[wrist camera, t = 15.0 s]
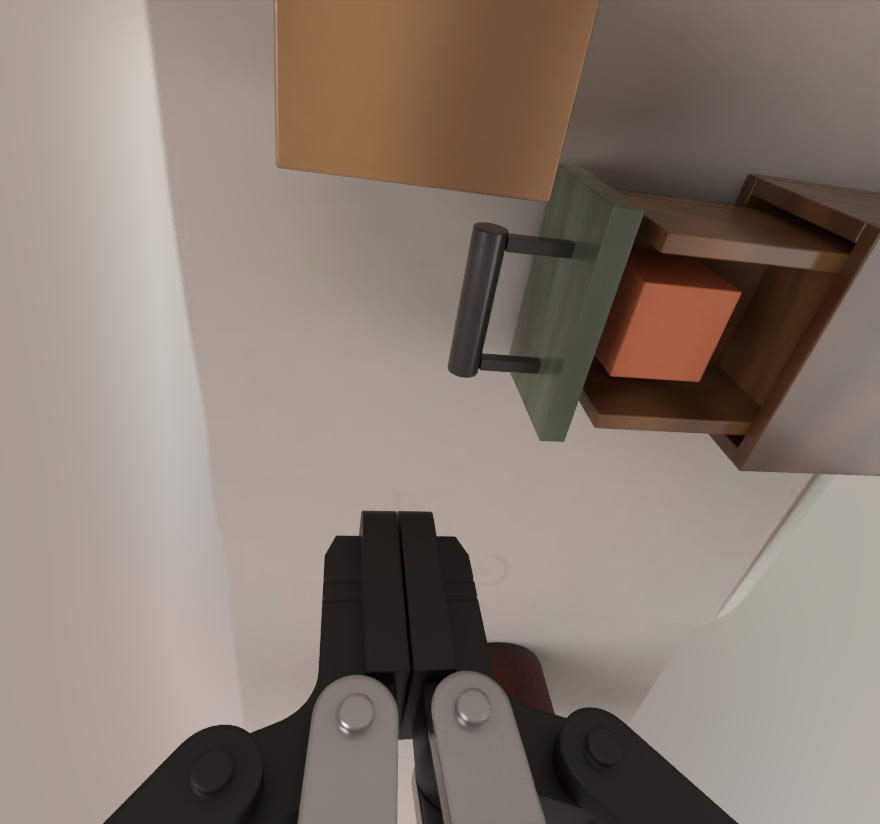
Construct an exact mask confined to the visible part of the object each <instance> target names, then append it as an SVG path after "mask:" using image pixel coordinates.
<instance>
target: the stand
mask: <svg viewBox="0 0 880 824" xmlns="http://www.w3.org/2000/svg"><path fill="white" fill-rule="evenodd" d="M599 3H600V0H274V60H275V134H276V165H277V167H279V168H283V169H291V170H299V171H307V172H314V173H322V174H330V175H338V176H345V177H353V178H361V179H369V180H377V181H384V182H392V183H400V184H408V185H415V186H423V187H431V188H439V189H447V190H454V191H462V192H470V193H478V194H486V195H493V196H501V197H509V198H517V199H524V200H532V201H540V202H549V200H550V197H551V193H552V189H553V185H554V181H555V177H556V173H557V169H558V165H559V161H560V157H561V153H562V149H563V145H564V141H565V137H566V133H567V129H568V125H569V121H570V117H571V114H572V110H573V106H574V102H575V98H576V94H577V90H578V86H579V82H580V78H581V74H582V70H583V66H584V62H585V58H586V54H587V50H588V46H589V42H590V38H591V34H592V30H593V26H594V23H595V19H596V15H597V11H598V7H599Z"/></svg>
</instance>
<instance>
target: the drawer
mask: <svg viewBox="0 0 880 824" xmlns="http://www.w3.org/2000/svg"><path fill="white" fill-rule="evenodd" d="M855 244H856V243H854V242H852V241H849V240H847V239H845V238H843V237H841V236H839V235H837V234H834V233H832V232H830V231H828V230H826V229H824V228H821V227H819V226H817V225H815V224H813V223H811V222H809V221H806V220H804V219H802V218H800V217H798V216H796V215H793V214H790V213H782V212H775V211H768V210H760V209H753V208H746V207H738V206H731V205H724V204H716V203H709V202H702V201H694V200H687V199H680V198H672V197H665V196H658V195H650V194H643V193H636V192H628V191H621V190H614V189H613V188H611V187H610V186H609V185H607V184H606V183H604V182H603V181H601V180H600V179H598V178H597V177H595V176H594V175H593V174H591V173H590V172H588V171H587V170H585V169H584V168H582V167H580V166H573V165H566V164H559V165H558V169H557V173H556V177H555V181H554V185H553V189H552V193H551V197H550V200H549V202H548V203H547V207H546V211H545V215H544V218H543V222H542V226H541V230H540V234H539V237H536V236H527V235H519V234H510V233H508V230H507V229H506V228H504V227H502V226H500V225H496V224H492V223H476V224H474V226H473V231H472V236H471V242H470V247H469V253H468V258H467V264H466V269H465V275H464V280H463V286H462V291H461V296H460V302H459V307H458V313H457V318H456V324H455V329H454V335H453V340H452V346H451V351H450V356H449V362H448V370H449V371H450V372H451V373H452V374H454V375H456V376H459V377H464V378H469V377H474V376H475V375H476V374H477V373H478V369H480V370H486V371H501V372H510V373H511V375H512V377H513V380H514V382H515V384H516V387H517V389H518V391H519V394H520V396H521V398H522V400H523V403H524V405H525V407H526V410H527V412H528V414H529V417H530V419H531V421H532V424H533V426H534V428H535V430H536V433H537V435H538V437H539V440H540V441H558V442H564V441H565V438H566V435H567V432H568V429H569V426H570V423H571V420H572V418H573V415H574V412H575V409H576V406H577V403H578V400H579V402H580V403H581V405H582V407H583V408H584V410H585V412H586V414H587V415H588V417H589V419H590V421H591V422H592V424H593V426H594V427H595V428H606V429H626V430H647V431H667V432H687V433H707V434H728V435H746V434H747V432H748V430H749V428H750V427H751V425H752V423H753V421H754V420H755V418H756V416H757V415H758V413H759V411H760V409H761V408H762V406H763V404H764V402H765V401H766V399H767V397H768V395H769V394H770V392H771V390H772V388H773V387H774V385H775V383H776V382H777V380H778V378H779V376H780V375H781V373H782V371H783V369H784V368H785V366H786V364H787V362H788V361H789V359H790V357H791V355H792V354H793V352H794V350H795V349H796V347H797V345H798V343H799V342H800V340H801V338H802V336H803V335H804V333H805V331H806V329H807V328H808V326H809V324H810V322H811V321H812V319H813V317H814V315H815V314H816V312H817V310H818V309H819V307H820V305H821V303H822V302H823V300H824V298H825V296H826V295H827V293H828V291H829V289H830V288H831V286H832V284H833V282H834V281H835V279H836V277H837V276H838V274H839V272H840V270H841V269H842V267H843V265H844V263H845V262H846V260H847V258H848V256H849V255H850V253H851V251H852V249H853V248H854V246H855ZM632 248H635V249H644V250H653V251H660V252H661V253H666V254H675V255H684V256H692V257H694V258H696V259H697V260H698V261H700V262H701V263H703V264H704V265H705V266H707V267H708V268H709V269H711V270H712V271H714V272H715V273H716V274H718V275H719V276H721V277H722V278H723V279H725V280H726V281H727V282H729V283H730V284H732V285H733V286H734V287H736V288H737V289H738V290H740V291H741V292H742V294H741V296H740V298H739V300H738V302H737V304H736V306H735V309H734V311H733V313H732V315H731V317H730V319H729V321H728V323H727V325H726V327H725V329H724V331H723V333H722V336H721V338H720V340H719V342H718V344H717V346H716V348H715V350H714V352H713V354H712V356H711V358H710V361H709V363H708V365H707V367H706V369H705V371H704V373H703V375H702V377H701V379H700V381H699V382H692V381H677V380H661V379H646V378H631V377H615V376H610V375H609V373H608V372H607V371H606V369H605V368H604V366H603V365H602V363H601V362H600V361H599V359H598V358H597V356H596V355H595V352H596V349H597V346H598V343H599V340H600V337H601V335H602V332H603V329H604V326H605V323H606V320H607V317H608V314H609V312H610V309H611V306H612V303H613V300H614V297H615V294H616V292H617V289H618V286H619V283H620V280H621V277H622V274H623V272H624V269H625V266H626V263H627V260H628V257H629V254H630V251H631V249H632ZM505 250H506V251H507V252H513V253H523V254H532V255H534V258H533V262H532V266H531V270H530V274H529V278H528V282H527V286H526V290H525V294H524V298H523V302H522V306H521V310H520V314H519V318H518V322H517V326H516V330H515V334H514V338H513V342H512V346H511V350H510V354H509V355H497V354H483V353H482V351H483V346H484V342H485V337H486V333H487V328H488V324H489V319H490V315H491V310H492V306H493V301H494V296H495V292H496V287H497V283H498V278H499V274H500V269H501V265H502V260H503V255H504V251H505Z"/></svg>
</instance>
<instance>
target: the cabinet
mask: <svg viewBox="0 0 880 824" xmlns="http://www.w3.org/2000/svg"><path fill="white" fill-rule="evenodd" d="M735 206H738V207H746V208H753V209H760V210H768V211H775V212H782V213H790V214H793V215H796V216H798V217H800V218H802V219H804V220H806V221H809V222H811V223H813V224H815V225H817V226H819V227H821V228H824V229H826V230H828V231H830V232H832V233H834V234H837V235H839V236H841V237H843V238H845V239H847V240H849V241H852V242H854V243H856V244H855V246H854V248H853V249H852V251H851V253H850V255H849V256H848V258H847V260H846V262H845V263H844V265H843V267H842V269H841V270H840V272H839V274H838V276H837V277H836V279H835V281H834V282H833V284H832V286H831V288H830V289H829V291H828V293H827V295H826V296H825V298H824V300H823V302H822V303H821V305H820V307H819V309H818V310H817V312H816V314H815V315H814V317H813V319H812V321H811V322H810V324H809V326H808V328H807V329H806V331H805V333H804V335H803V336H802V338H801V340H800V342H799V343H798V345H797V347H796V349H795V350H794V352H793V354H792V355H791V357H790V359H789V361H788V362H787V364H786V366H785V368H784V369H783V371H782V373H781V375H780V376H779V378H778V380H777V382H776V383H775V385H774V387H773V388H772V390H771V392H770V394H769V395H768V397H767V399H766V401H765V402H764V404H763V406H762V408H761V409H760V411H759V413H758V415H757V416H756V418H755V420H754V421H753V423H752V425H751V427H750V428H749V430H748V432H747V434H746V435H728V434H709V435H710V436H711V438H712V439H713V440H714V441H715V442H716V444H717V445H718V446H719V447H720V448H721V449H722V451H723V452H724V453H725V454H726V455H727V457H728V458H729V459H730V460H731V461H732V462H733V464H734V465H735V466H736V467H737V468H738V470H740V471H760V472H788V473H815V474H843V475H872V476H880V193H875V192H868V191H862V190H855V189H848V188H841V187H835V186H828V185H821V184H815V183H808V182H801V181H795V180H788V179H781V178H775V177H768V176H761V175H754V174H748V176H747V179H746V181H745V183H744V186H743V188H742V190H741V192H740V195H739V197H738V199H737V202H736V204H735Z"/></svg>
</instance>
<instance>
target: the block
mask: <svg viewBox="0 0 880 824" xmlns="http://www.w3.org/2000/svg"><path fill="white" fill-rule="evenodd" d="M741 294H742V292H741V291H740V290H738V289H737V288H736V287H734V286H733V285H732V284H730V283H729V282H727V281H726V280H725V279H723V278H722V277H721V276H719V275H718V274H716V273H715V272H714V271H712V270H711V269H709V268H708V267H707V266H705V265H704V264H703V263H701V262H700V261H698V260H697V259H696V258H694V257H692V256H684V255H675V254H666V253H661V252H660V251H653V250H644V249H635V248H632V249H631V251H630V254H629V257H628V260H627V263H626V266H625V269H624V272H623V274H622V277H621V280H620V283H619V286H618V289H617V292H616V294H615V297H614V300H613V303H612V306H611V309H610V312H609V314H608V317H607V320H606V323H605V326H604V329H603V332H602V335H601V337H600V340H599V343H598V346H597V349H596V352H595V355H596V356H597V358H598V359H599V361H600V362H601V363H602V365H603V366H604V368H605V369H606V371H607V372H608V373H609V375H610V376H615V377H631V378H646V379H661V380H677V381H692V382H699V381H700V379H701V377H702V375H703V373H704V371H705V369H706V367H707V365H708V363H709V361H710V358H711V356H712V354H713V352H714V350H715V348H716V346H717V344H718V342H719V340H720V338H721V336H722V333H723V331H724V329H725V327H726V325H727V323H728V321H729V319H730V317H731V315H732V313H733V311H734V309H735V306H736V304H737V302H738V300H739V298H740V296H741Z"/></svg>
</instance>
